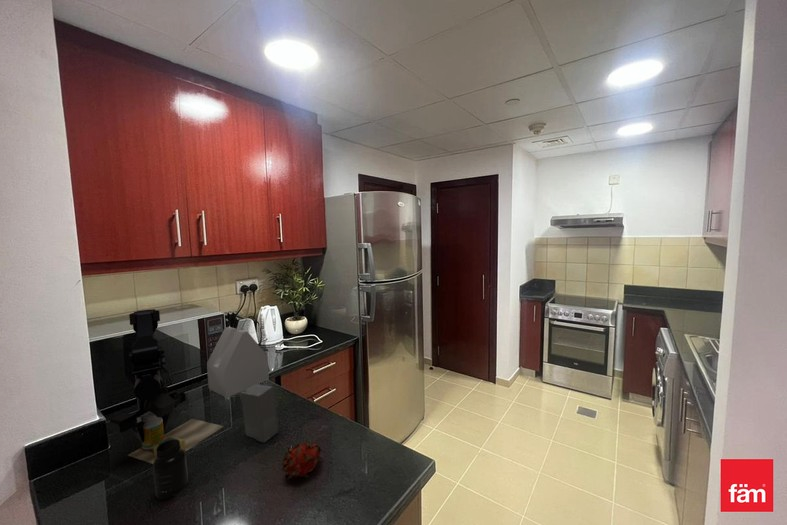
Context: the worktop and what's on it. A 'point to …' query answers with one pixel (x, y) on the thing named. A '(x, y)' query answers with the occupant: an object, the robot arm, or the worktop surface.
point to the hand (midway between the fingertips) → (152, 436)
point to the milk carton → (236, 363)
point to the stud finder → (182, 441)
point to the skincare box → (259, 412)
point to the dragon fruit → (301, 460)
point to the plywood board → (182, 437)
